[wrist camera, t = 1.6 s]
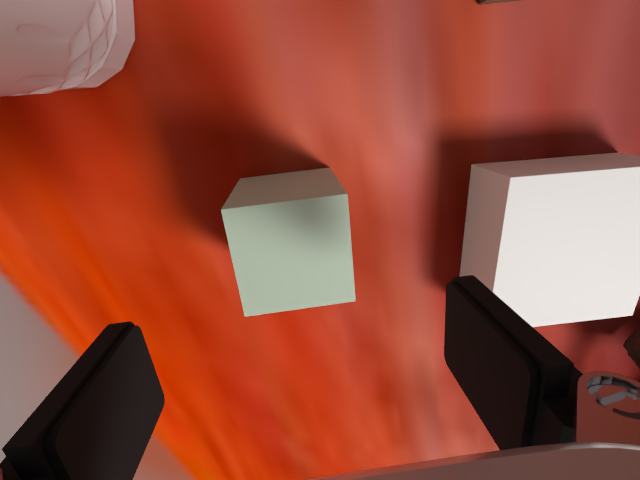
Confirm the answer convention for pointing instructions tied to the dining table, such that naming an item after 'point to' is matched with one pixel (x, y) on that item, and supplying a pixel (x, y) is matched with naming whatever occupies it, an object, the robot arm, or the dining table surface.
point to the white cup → (62, 44)
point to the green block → (290, 241)
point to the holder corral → (493, 1)
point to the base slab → (557, 236)
